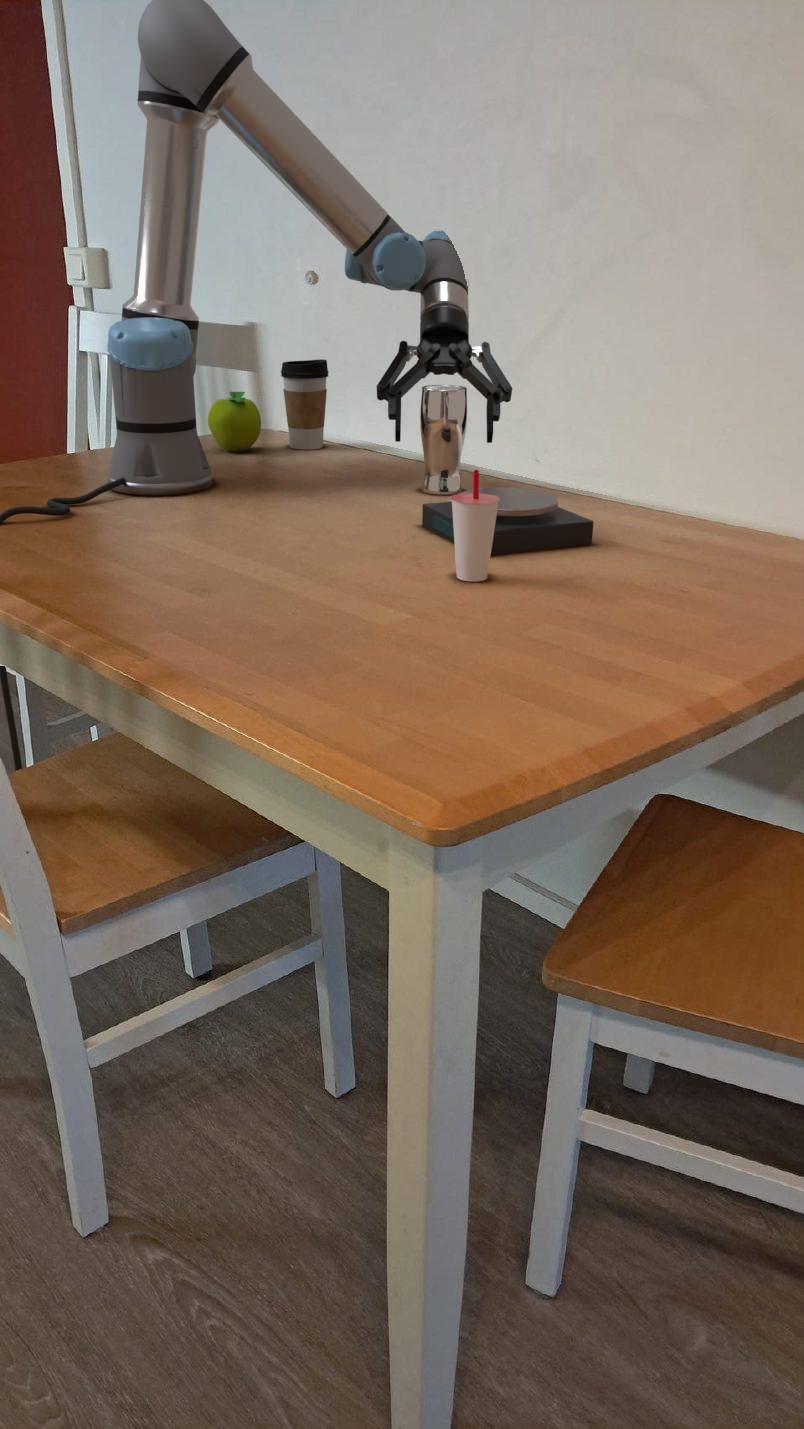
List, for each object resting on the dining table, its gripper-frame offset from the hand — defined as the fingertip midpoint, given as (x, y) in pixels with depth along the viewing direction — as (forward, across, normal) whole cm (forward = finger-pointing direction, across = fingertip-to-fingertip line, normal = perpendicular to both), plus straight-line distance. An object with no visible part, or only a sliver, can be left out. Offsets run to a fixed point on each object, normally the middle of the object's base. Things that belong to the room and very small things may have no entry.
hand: (443, 436), depth 157 cm
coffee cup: (-20, +24, -31) cm, 44 cm away
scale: (+24, -8, +12) cm, 28 cm away
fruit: (-16, +36, -28) cm, 48 cm away
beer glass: (+6, 0, -6) cm, 8 cm away
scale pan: (+21, -8, +15) cm, 27 cm away
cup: (+38, -2, +26) cm, 46 cm away
